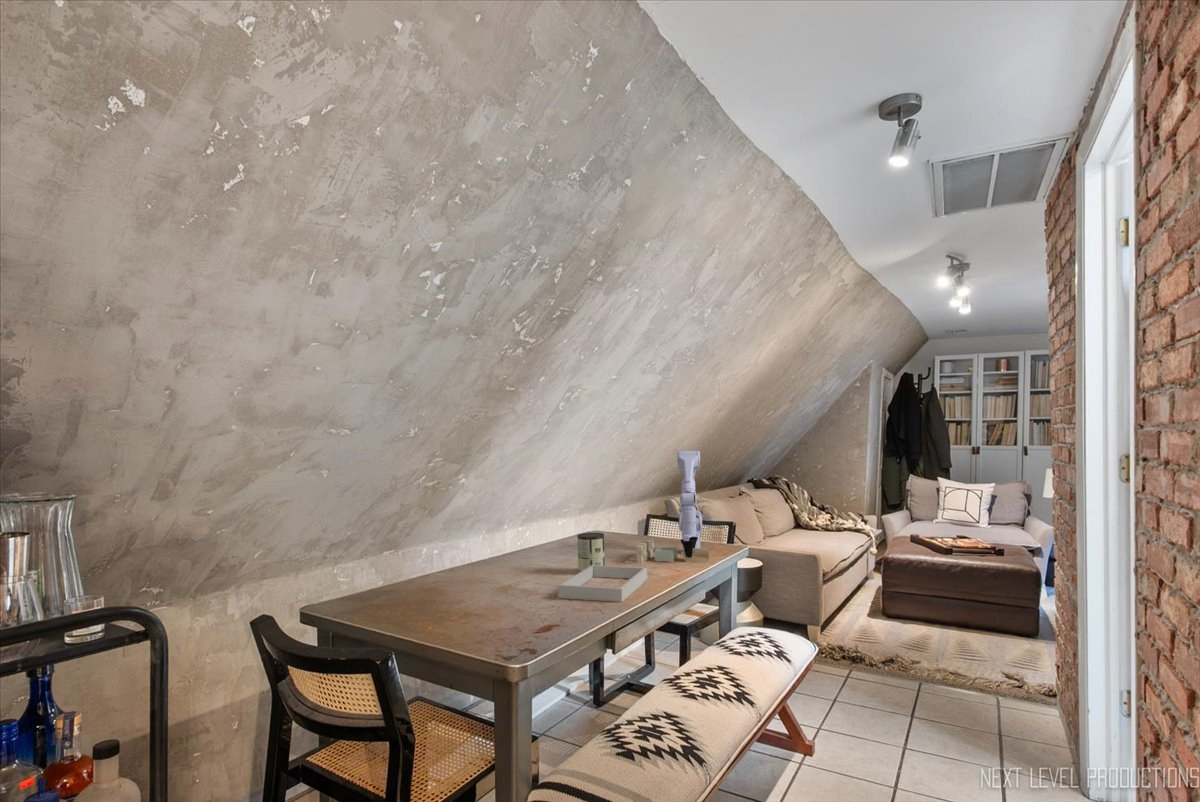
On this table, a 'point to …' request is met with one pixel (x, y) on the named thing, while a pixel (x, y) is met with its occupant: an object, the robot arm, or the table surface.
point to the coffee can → (590, 550)
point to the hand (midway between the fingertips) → (690, 556)
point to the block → (666, 554)
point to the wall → (642, 552)
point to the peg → (698, 555)
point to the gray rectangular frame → (576, 591)
